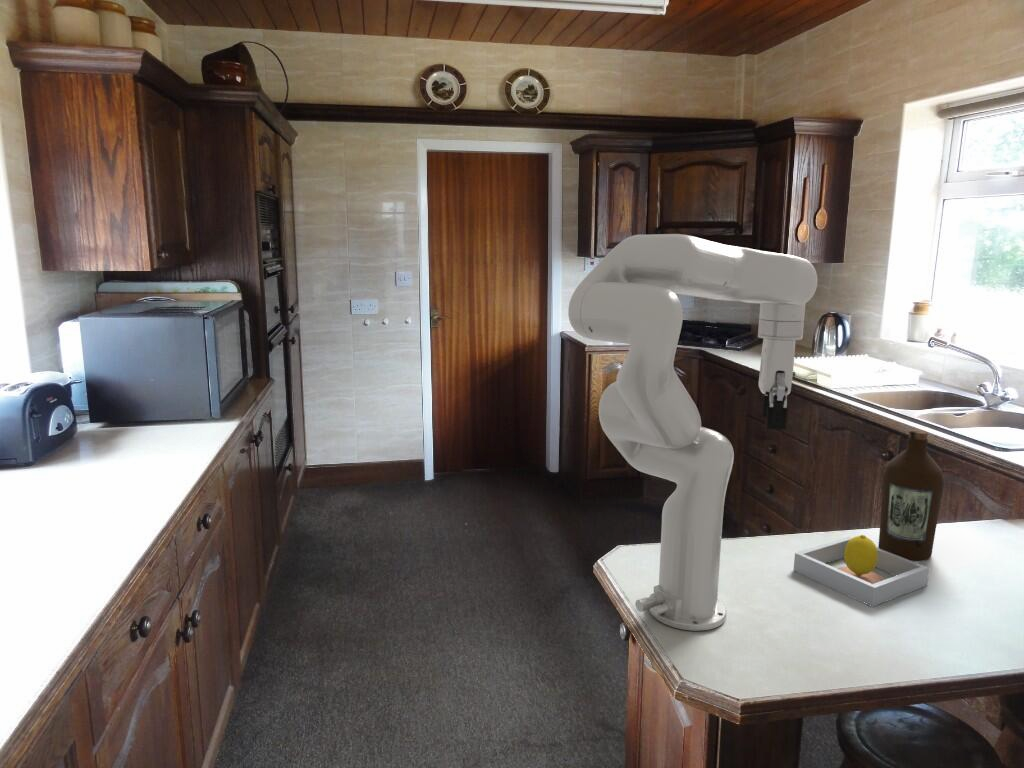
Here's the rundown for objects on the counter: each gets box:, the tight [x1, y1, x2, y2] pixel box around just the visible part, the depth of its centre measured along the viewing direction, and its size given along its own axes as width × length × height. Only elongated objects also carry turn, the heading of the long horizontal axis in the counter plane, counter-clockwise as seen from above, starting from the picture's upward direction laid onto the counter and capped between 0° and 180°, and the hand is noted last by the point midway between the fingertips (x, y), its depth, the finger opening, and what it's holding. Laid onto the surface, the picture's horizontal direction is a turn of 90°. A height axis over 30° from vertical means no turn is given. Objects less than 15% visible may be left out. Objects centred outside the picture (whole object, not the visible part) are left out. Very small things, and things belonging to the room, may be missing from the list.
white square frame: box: [793, 536, 930, 607], centre depth 130 cm, size 16×16×4 cm
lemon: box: [843, 534, 878, 576], centre depth 129 cm, size 6×6×8 cm
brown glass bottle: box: [878, 429, 945, 562], centre depth 140 cm, size 11×11×25 cm
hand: (773, 422), depth 129 cm, fingers open, 9 cm apart
